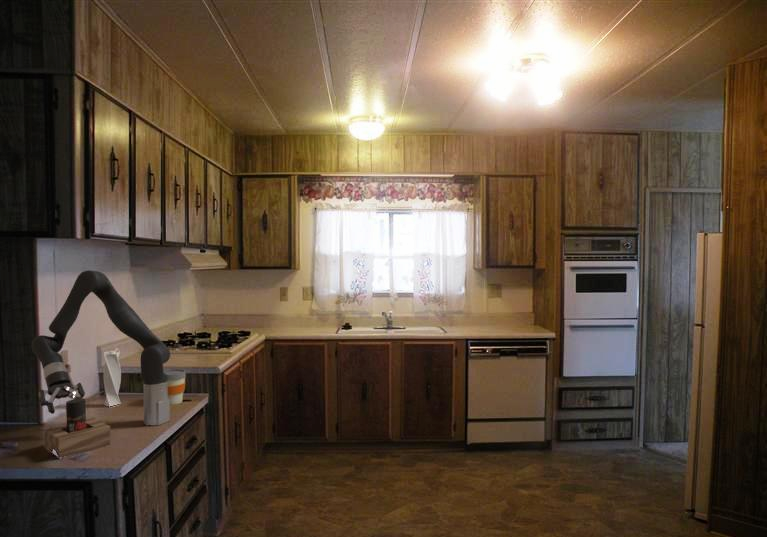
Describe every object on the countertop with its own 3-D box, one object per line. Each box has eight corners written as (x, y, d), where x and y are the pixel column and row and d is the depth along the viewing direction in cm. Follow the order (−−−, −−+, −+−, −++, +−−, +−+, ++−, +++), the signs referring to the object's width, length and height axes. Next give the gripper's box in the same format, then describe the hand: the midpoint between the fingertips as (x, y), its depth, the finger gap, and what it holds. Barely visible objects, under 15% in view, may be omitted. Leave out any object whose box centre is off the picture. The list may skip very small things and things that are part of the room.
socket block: (110, 444, 165) (109, 426, 165) (59, 459, 152) (58, 439, 152) (93, 435, 175) (93, 417, 175) (44, 448, 162) (44, 429, 162)
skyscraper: (125, 404, 217) (124, 347, 217) (109, 408, 210) (108, 350, 210) (116, 402, 221) (115, 346, 221) (100, 406, 214) (99, 348, 214)
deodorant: (65, 445, 160) (64, 404, 160) (69, 440, 165) (67, 400, 165) (84, 442, 162) (83, 401, 162) (87, 436, 168) (86, 397, 168)
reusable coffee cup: (167, 407, 210) (167, 376, 211) (153, 403, 217) (152, 373, 217) (191, 400, 221) (191, 371, 221) (176, 397, 228) (176, 368, 228)
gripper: (36, 373, 171) (46, 408, 163) (79, 367, 182) (90, 399, 175) (32, 385, 174) (42, 420, 167) (74, 378, 185) (85, 410, 178)
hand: (66, 409), depth 171 cm, fingers open, 8 cm apart
